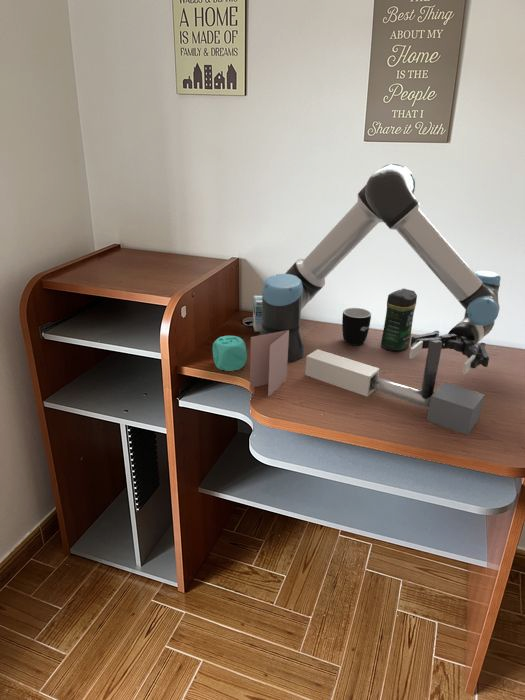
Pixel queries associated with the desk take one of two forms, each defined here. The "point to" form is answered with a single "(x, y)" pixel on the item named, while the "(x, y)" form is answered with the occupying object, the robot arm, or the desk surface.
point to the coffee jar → (399, 319)
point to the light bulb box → (257, 313)
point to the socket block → (455, 408)
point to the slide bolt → (408, 392)
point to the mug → (355, 325)
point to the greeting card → (269, 360)
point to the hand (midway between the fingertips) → (437, 361)
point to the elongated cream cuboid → (340, 371)
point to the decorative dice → (229, 353)
